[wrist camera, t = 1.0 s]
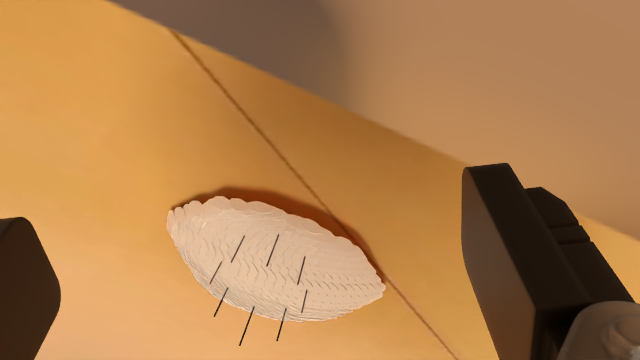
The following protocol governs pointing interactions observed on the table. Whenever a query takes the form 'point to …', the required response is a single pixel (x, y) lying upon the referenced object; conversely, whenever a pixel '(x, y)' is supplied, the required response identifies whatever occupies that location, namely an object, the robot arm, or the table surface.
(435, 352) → the table surface
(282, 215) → the pincushion
